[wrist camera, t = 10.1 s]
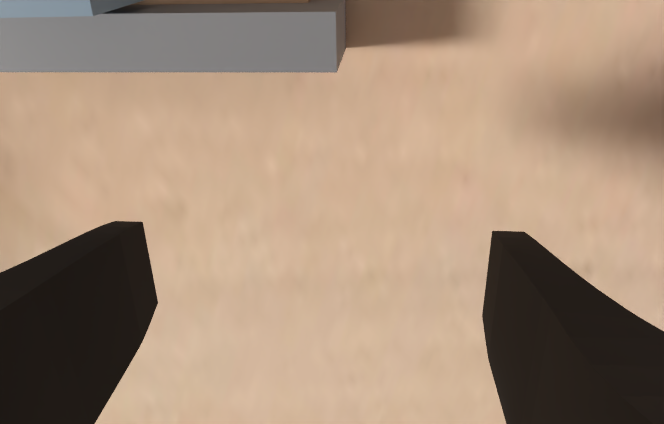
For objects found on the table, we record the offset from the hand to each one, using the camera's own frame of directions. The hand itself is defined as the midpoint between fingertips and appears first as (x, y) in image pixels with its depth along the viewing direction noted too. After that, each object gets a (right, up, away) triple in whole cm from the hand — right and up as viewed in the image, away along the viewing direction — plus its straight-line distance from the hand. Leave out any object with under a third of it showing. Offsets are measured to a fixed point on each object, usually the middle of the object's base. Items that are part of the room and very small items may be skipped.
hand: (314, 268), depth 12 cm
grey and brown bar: (-9, +8, +8) cm, 14 cm away
